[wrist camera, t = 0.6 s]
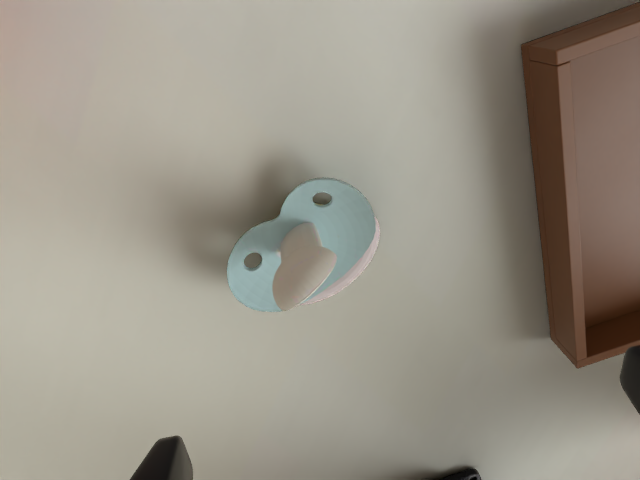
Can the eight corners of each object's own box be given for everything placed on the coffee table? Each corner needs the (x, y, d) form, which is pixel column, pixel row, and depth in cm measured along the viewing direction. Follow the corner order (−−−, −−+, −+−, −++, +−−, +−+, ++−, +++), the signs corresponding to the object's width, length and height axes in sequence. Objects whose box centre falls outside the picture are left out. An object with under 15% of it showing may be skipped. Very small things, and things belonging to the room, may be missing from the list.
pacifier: (402, 230, 24) (323, 147, 21) (452, 303, 18) (354, 204, 15) (296, 318, 25) (210, 252, 22) (313, 410, 20) (202, 337, 17)
